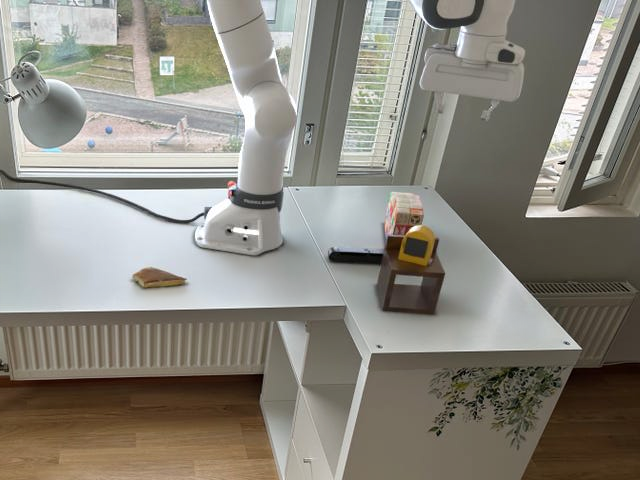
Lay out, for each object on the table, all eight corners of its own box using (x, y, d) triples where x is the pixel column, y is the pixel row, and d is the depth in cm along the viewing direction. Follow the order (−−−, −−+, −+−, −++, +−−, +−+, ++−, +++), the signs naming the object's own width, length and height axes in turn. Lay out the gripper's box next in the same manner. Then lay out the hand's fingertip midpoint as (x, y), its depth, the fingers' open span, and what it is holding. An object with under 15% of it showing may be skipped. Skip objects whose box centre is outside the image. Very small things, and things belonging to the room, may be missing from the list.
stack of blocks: (383, 223, 188) (392, 180, 181) (407, 226, 187) (417, 182, 180) (387, 258, 171) (397, 211, 164) (413, 260, 170) (424, 214, 163)
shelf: (382, 310, 150) (394, 256, 143) (376, 286, 159) (387, 234, 152) (434, 314, 149) (449, 260, 142) (425, 289, 158) (438, 237, 151)
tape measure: (397, 259, 148) (404, 228, 144) (402, 252, 151) (409, 221, 147) (428, 267, 146) (437, 235, 142) (433, 259, 149) (441, 228, 144)
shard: (187, 284, 158) (187, 277, 157) (167, 297, 153) (167, 290, 152) (148, 271, 163) (148, 264, 162) (129, 283, 158) (128, 276, 157)
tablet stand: (327, 262, 169) (329, 250, 167) (326, 257, 171) (328, 246, 169) (402, 266, 168) (404, 254, 166) (400, 261, 170) (402, 250, 168)
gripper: (424, 44, 144) (410, 112, 152) (529, 56, 136) (508, 127, 143) (431, 39, 148) (417, 105, 156) (533, 51, 140) (512, 120, 148)
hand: (461, 116), depth 150 cm, fingers open, 8 cm apart
